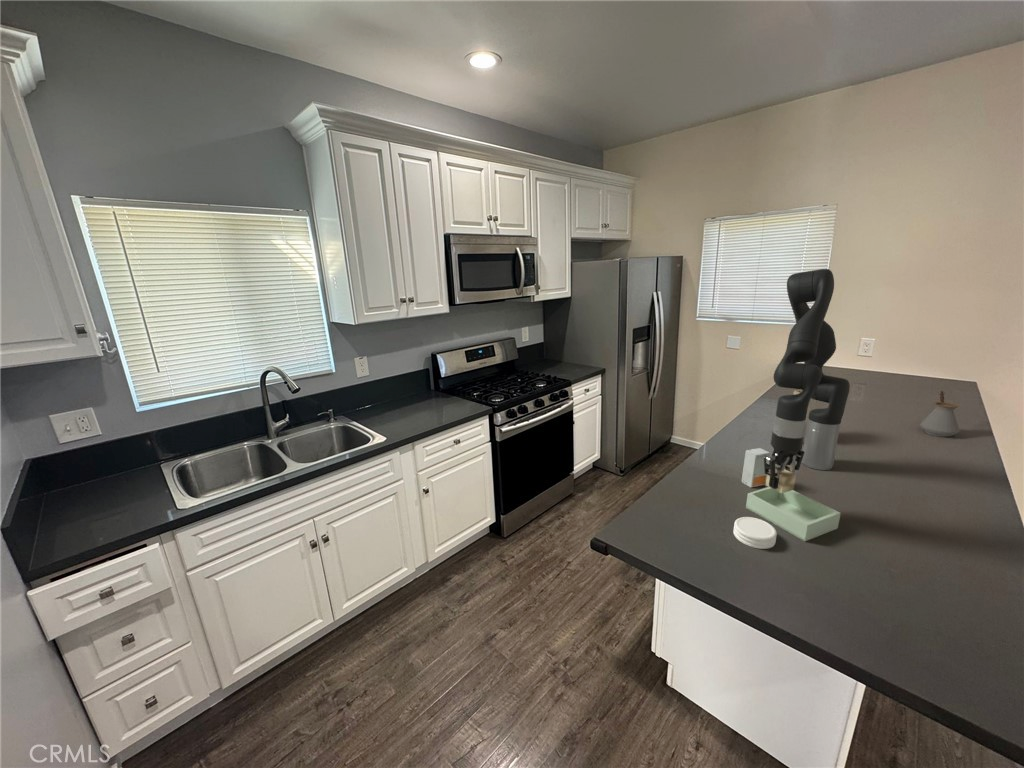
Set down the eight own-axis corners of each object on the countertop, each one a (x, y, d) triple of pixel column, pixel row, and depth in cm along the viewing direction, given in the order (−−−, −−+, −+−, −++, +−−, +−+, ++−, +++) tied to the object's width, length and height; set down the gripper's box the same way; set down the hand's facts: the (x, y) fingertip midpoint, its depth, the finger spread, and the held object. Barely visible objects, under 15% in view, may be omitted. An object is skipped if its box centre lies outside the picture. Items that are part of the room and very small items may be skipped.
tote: (776, 497, 128) (779, 483, 127) (837, 528, 112) (840, 512, 111) (745, 507, 124) (747, 493, 122) (804, 541, 108) (807, 525, 106)
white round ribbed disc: (737, 522, 117) (738, 511, 116) (778, 535, 111) (779, 524, 110) (729, 540, 110) (730, 529, 109) (772, 555, 104) (773, 543, 103)
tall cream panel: (810, 437, 172) (820, 379, 165) (801, 445, 165) (811, 385, 158) (789, 432, 178) (798, 376, 171) (780, 439, 171) (788, 381, 164)
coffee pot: (960, 441, 162) (969, 405, 158) (920, 434, 169) (928, 400, 165) (952, 425, 178) (961, 392, 174) (915, 420, 185) (923, 388, 181)
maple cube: (777, 481, 123) (779, 467, 121) (793, 489, 118) (796, 474, 117) (765, 485, 121) (767, 470, 120) (781, 493, 116) (784, 477, 115)
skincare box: (751, 488, 134) (755, 455, 131) (741, 482, 138) (745, 450, 135) (765, 485, 136) (770, 452, 133) (755, 479, 140) (759, 447, 137)
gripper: (792, 423, 121) (784, 475, 125) (758, 431, 116) (750, 485, 120) (818, 432, 114) (809, 486, 119) (783, 441, 109) (774, 497, 114)
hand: (779, 485), depth 119 cm, fingers closed on maple cube, 5 cm apart
